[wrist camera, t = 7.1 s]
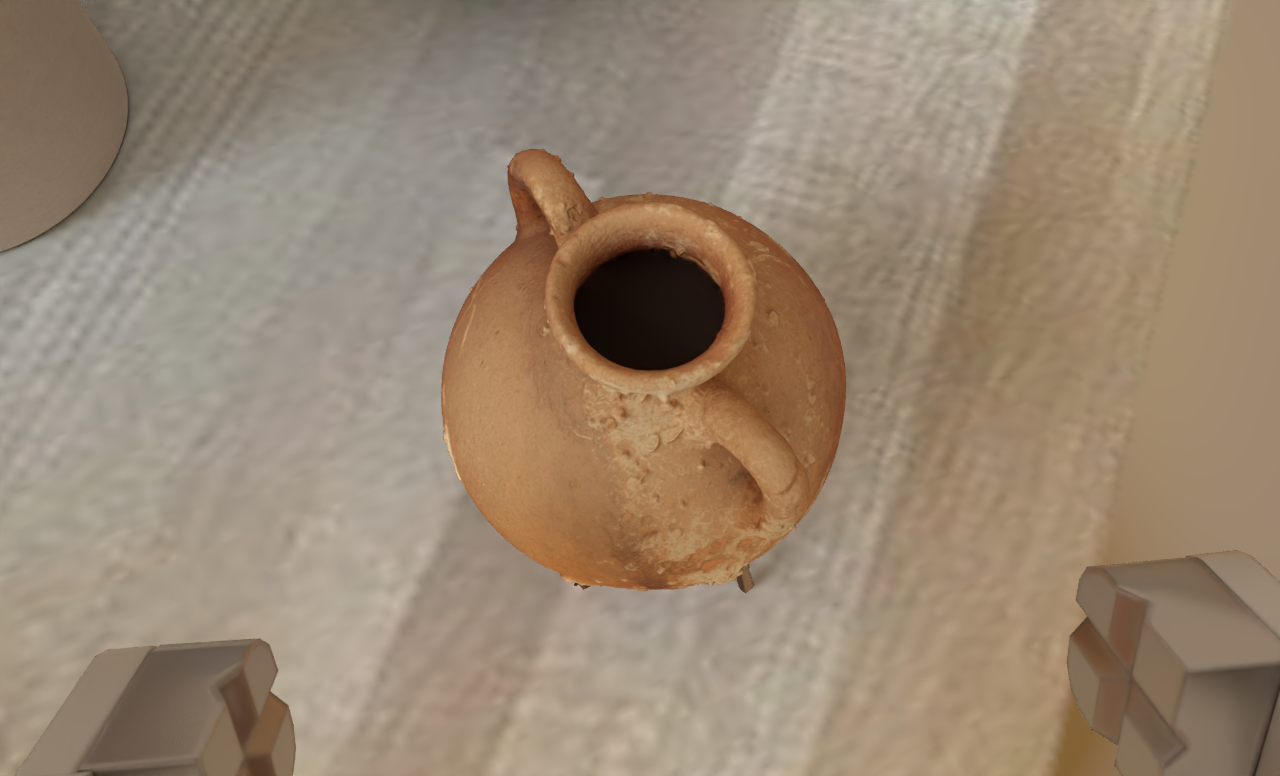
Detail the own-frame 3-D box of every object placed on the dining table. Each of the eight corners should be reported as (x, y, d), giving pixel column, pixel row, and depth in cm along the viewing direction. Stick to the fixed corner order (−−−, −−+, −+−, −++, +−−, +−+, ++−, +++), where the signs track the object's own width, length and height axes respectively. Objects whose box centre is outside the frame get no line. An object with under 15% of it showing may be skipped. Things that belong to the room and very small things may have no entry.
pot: (541, 304, 20) (435, 598, 18) (507, 4, 13) (318, 426, 10) (817, 373, 20) (751, 687, 17) (941, 103, 13) (861, 571, 10)
